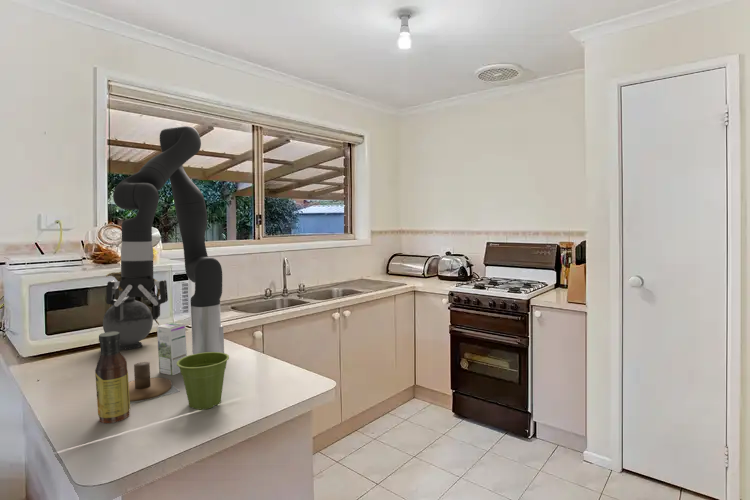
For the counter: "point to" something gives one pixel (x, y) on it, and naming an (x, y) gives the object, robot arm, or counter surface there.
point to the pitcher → (129, 320)
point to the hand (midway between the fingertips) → (138, 319)
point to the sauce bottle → (112, 380)
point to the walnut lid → (146, 384)
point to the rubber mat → (172, 390)
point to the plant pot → (203, 378)
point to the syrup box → (171, 347)
